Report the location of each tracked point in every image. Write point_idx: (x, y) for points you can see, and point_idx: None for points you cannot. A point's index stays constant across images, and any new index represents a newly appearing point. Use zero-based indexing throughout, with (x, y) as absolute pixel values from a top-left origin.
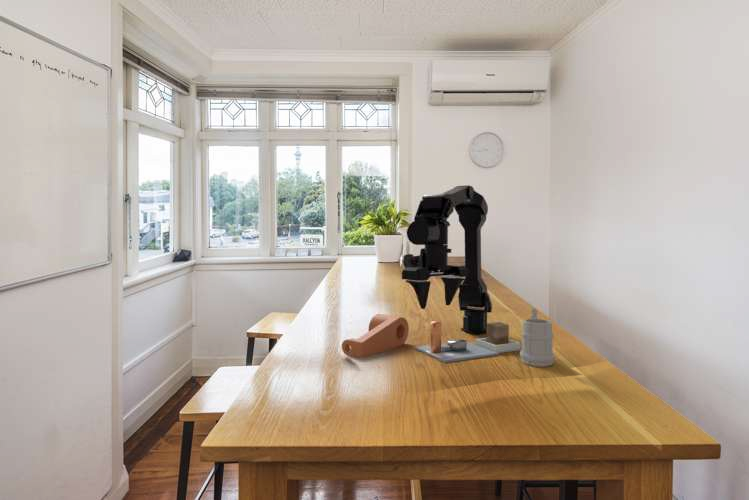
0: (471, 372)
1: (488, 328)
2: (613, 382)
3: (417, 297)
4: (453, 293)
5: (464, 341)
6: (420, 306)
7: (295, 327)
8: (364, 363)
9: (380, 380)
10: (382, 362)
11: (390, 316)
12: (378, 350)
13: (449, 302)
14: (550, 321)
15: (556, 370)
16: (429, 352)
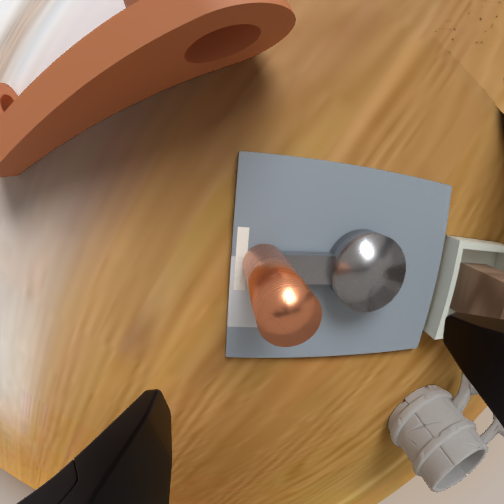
0: (234, 431)
1: (495, 289)
2: (385, 488)
3: (89, 449)
4: (497, 414)
5: (390, 292)
6: (139, 399)
7: None
8: (7, 240)
9: (19, 374)
10: (48, 256)
11: None
12: (83, 127)
13: (454, 356)
14: (468, 473)
15: (389, 450)
16: (238, 255)
